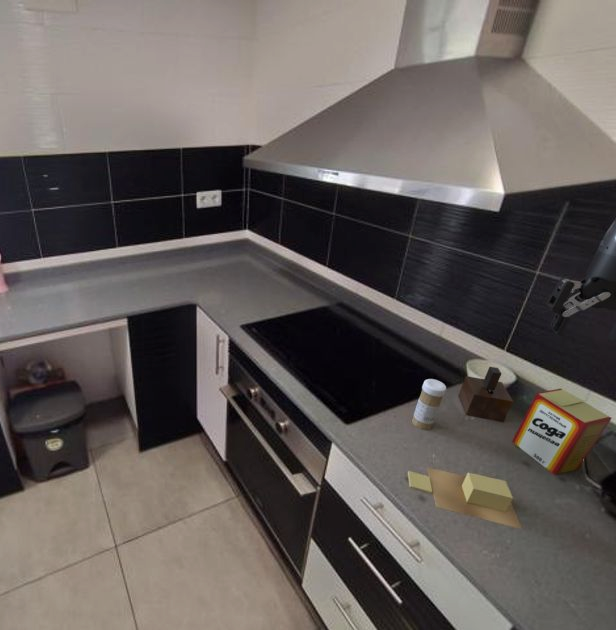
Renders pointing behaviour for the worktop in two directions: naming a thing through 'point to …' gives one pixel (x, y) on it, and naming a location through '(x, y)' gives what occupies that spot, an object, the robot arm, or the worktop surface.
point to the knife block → (484, 400)
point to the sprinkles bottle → (428, 403)
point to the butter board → (453, 499)
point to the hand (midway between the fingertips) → (584, 336)
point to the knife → (491, 379)
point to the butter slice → (419, 482)
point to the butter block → (487, 492)
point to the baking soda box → (560, 430)
